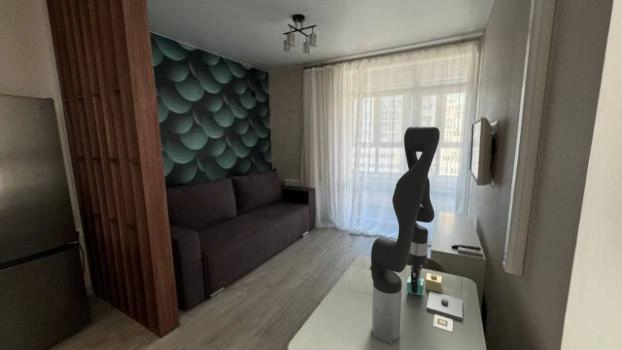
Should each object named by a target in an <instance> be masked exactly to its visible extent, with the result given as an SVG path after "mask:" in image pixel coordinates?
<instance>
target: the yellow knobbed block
mask: <svg viewBox="0 0 622 350" xmlns="http://www.w3.org/2000/svg"><path fill="white" fill-rule="evenodd" d="M442 279H443V276H442V275H438V274H435V273H434V274H433V273H428V272H427V273H426V277H425V285H424V287H425V288H424V289H426V290H429V291H432V292H435V293H441V292H442Z"/></svg>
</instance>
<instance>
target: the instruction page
mask: <svg viewBox="0 0 622 350" xmlns="http://www.w3.org/2000/svg"><path fill="white" fill-rule="evenodd" d="M453 320H454V318H451V317H447V316H444V315H441V314H438V313H435V314H434V317H433V324H432V327H434V328H438V329H442V330H443V331H447V332H450V333H453V329H454V328H453V326H454V325H453V322H454V321H453Z"/></svg>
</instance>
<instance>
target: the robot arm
mask: <svg viewBox="0 0 622 350" xmlns="http://www.w3.org/2000/svg"><path fill="white" fill-rule="evenodd" d="M403 136H404V137H403V145H404V147H403V148H404V154H405V158H406V164H407V167H408V169H407V171H406V172H405V173H404V174H402V176H401V177H400V178H399V179H398V180H397V182H396V183H395V184H396V185H395V188H394V192H393V194H392V195H393V196H392V207H393V210H394V213H395V216H396V220H397V223H398V234H397V239H396V240H393V239H390V238H386V237H384V236H383V237H382V236H380V237H376V239H375V240H374V241H373V244H372V245H371V251H370V263H371V264H370V266H371V269H370V270H371V272H370V273H371V280H372V303H371V304H372V306H371V307H372V308H371V310H372V311H371V315H372V316H371V332H372V337H373V338H375V339H377V340H380V341H382V342H384V343H387V344H390V345H392V344H393V342H395V341H397V340H399V338H400V336H401V335H400V334H401V331H400V330H401V313H402V312H401V308H402V287H403V286H402V284H403V282H402V281H403V280H402V279H401V277H400V276H399V275H398V274H399V273H402V272H403V271H404V270H405V269H406V266H407V264H408V262H409V264H411V266H410V276H411V285H412V288H411V292H413V293H417V287H418V280H419V279H420V278H421V275H422V269H423V266H425V265H427V264H428V251H429V250H428V249H429V247H428V241H429V230H428V228H427V227H425V226H422V225H420V224H419V223H417V222H421V223H424V224H425V223H426V224H427V223H432V222H433V220H434V218H435V211H434V210H435V209H434V207H433V204H432V201H431V196H430V195H431V191H430V190H431V183H430V179H429V173H430V170H431V166H432V163H433V160H434V157H435V155H436V152H437V148H438V146H439V142H440V136H441V133H440V129H439V128H438V127H436V126H430V125H427V126H425V125H423V126H422V125H420V126H419V125H413V126H409V127H407V128H406V130H405V132H404V135H403ZM417 153H421V154H420V156H419V158H418V155H417ZM397 273H398V274H397ZM413 280H414V281H413ZM415 281H416V282H415ZM413 293H412V294H413Z"/></svg>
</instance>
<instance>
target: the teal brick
mask: <svg viewBox="0 0 622 350" xmlns="http://www.w3.org/2000/svg"><path fill="white" fill-rule="evenodd" d="M413 281H414V280H413ZM415 282H416V281H415ZM424 284H425V279H424V278H422V277H420V279H419V280H418V287H417V293H413V292H411V288H412V285H411V274H410V275H409V276H408V278H407V281H406V293H410V294H413V295H417V296H420V297H423V293H424V289H425V288H424V287H425V285H424Z"/></svg>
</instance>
